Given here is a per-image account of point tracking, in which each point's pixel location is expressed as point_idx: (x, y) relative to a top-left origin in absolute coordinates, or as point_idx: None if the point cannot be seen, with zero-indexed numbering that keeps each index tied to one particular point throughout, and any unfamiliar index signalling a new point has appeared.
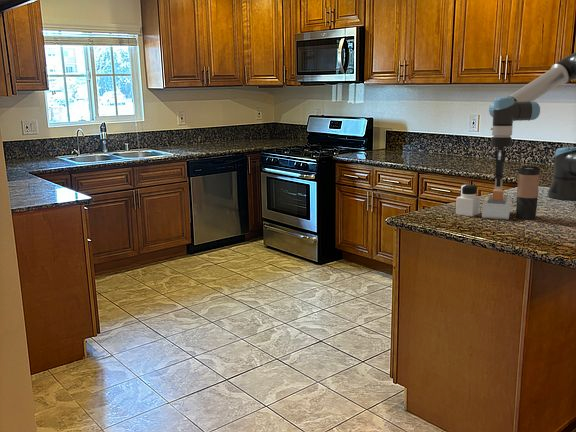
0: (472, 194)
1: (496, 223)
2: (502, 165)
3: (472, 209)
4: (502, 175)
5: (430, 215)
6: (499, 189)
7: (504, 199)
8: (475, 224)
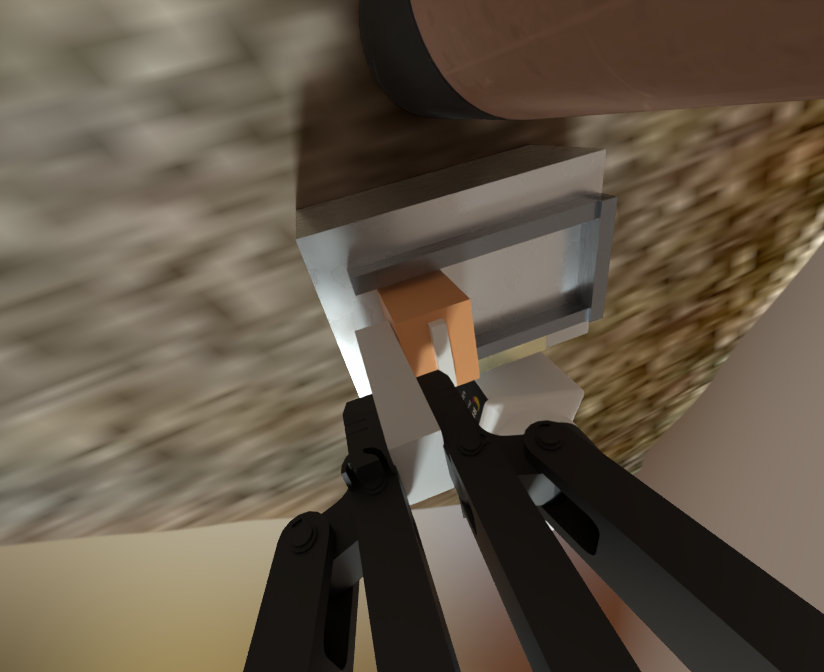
0: (575, 426)
1: (636, 180)
2: (784, 663)
3: (546, 357)
4: (365, 499)
5: None
6: (439, 352)
7: (531, 230)
8: (665, 261)
